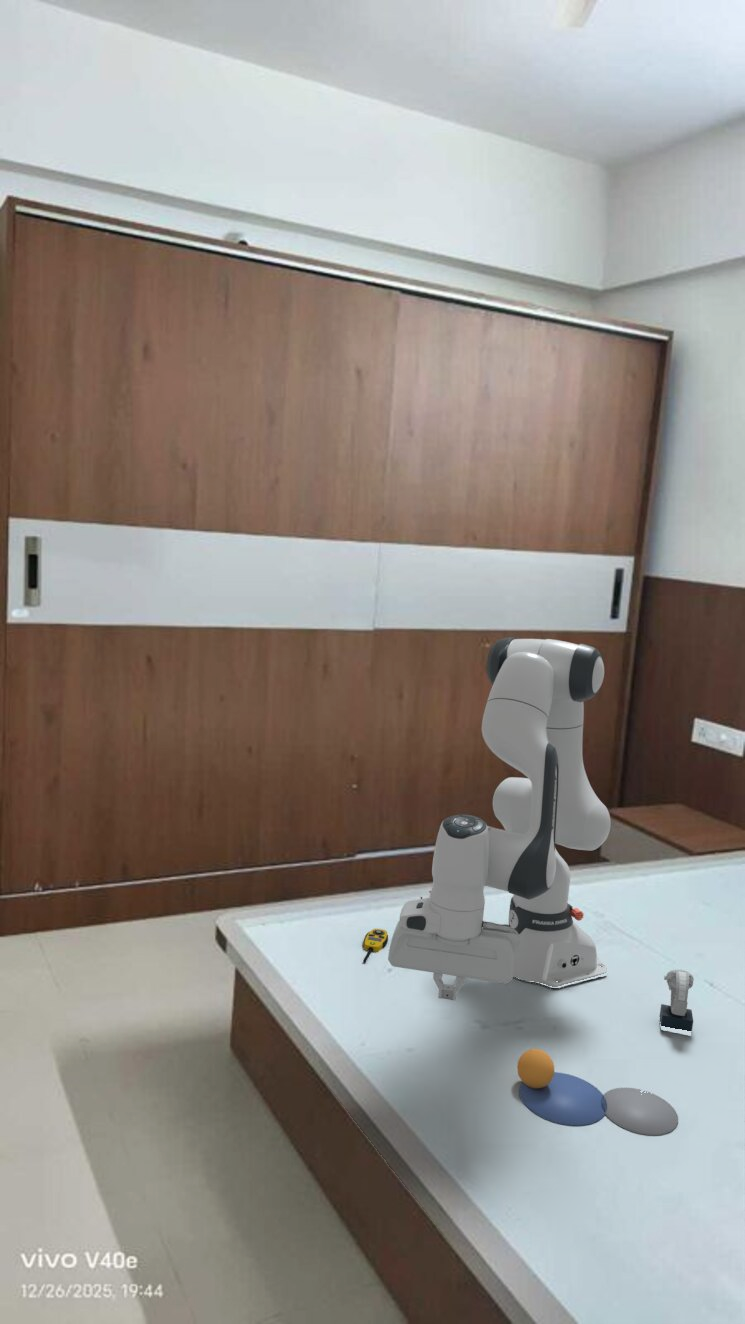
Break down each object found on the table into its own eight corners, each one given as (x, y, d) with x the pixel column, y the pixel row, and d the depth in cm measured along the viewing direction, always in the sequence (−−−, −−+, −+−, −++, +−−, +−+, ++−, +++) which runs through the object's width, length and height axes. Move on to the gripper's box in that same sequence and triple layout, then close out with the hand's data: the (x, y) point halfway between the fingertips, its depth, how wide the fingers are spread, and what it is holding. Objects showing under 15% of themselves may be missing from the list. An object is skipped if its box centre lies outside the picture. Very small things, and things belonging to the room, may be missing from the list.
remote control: (391, 929, 211) (375, 958, 196) (391, 937, 211) (375, 967, 197) (370, 925, 212) (352, 954, 197) (369, 933, 212) (352, 963, 198)
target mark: (576, 1068, 165) (576, 1067, 165) (624, 1118, 153) (624, 1117, 152) (503, 1079, 160) (503, 1078, 160) (547, 1131, 148) (547, 1130, 148)
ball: (544, 1045, 163) (510, 1048, 162) (557, 1049, 158) (522, 1052, 156) (548, 1083, 162) (514, 1087, 160) (561, 1089, 156) (526, 1093, 155)
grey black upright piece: (688, 1019, 185) (696, 966, 183) (691, 1041, 177) (699, 985, 175) (658, 1014, 186) (665, 960, 184) (660, 1035, 178) (667, 979, 177)
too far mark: (647, 1084, 162) (647, 1083, 162) (694, 1128, 151) (694, 1127, 151) (586, 1094, 158) (586, 1093, 158) (629, 1140, 147) (629, 1139, 147)
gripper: (520, 918, 157) (512, 998, 159) (396, 901, 160) (389, 979, 162) (520, 935, 150) (511, 1017, 153) (390, 916, 154) (383, 997, 156)
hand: (447, 997), depth 157 cm, fingers closed
